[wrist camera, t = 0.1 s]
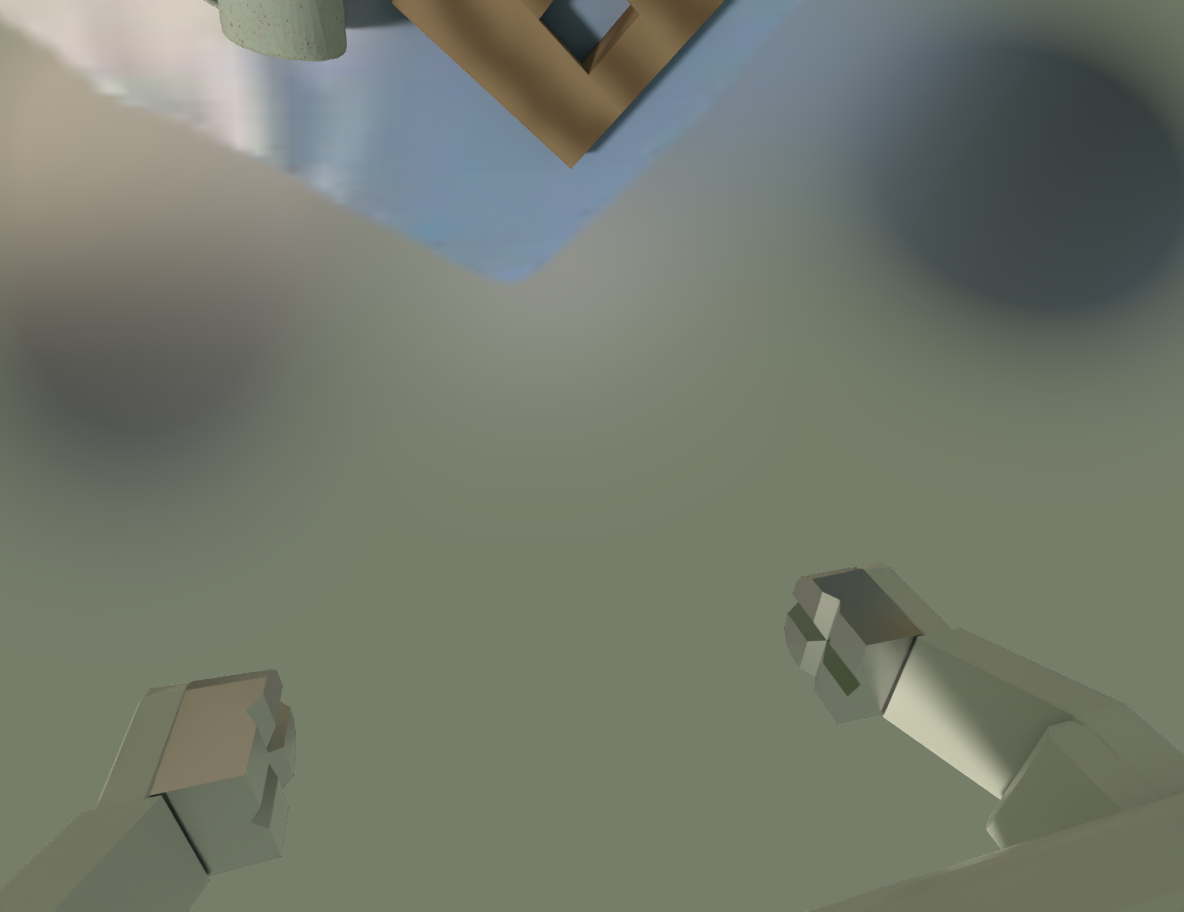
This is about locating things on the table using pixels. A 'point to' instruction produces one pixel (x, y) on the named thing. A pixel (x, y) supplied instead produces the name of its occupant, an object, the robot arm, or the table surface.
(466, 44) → the board
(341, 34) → the ceramic mug
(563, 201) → the table surface
